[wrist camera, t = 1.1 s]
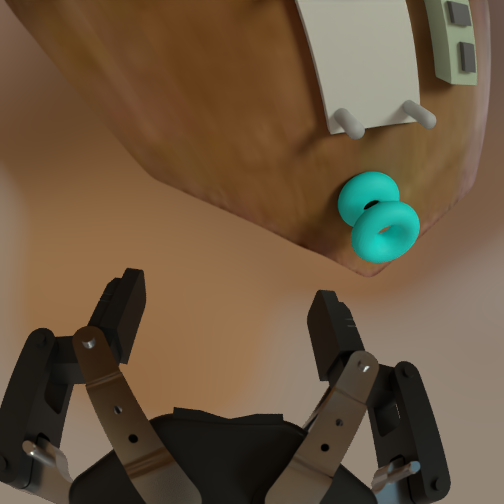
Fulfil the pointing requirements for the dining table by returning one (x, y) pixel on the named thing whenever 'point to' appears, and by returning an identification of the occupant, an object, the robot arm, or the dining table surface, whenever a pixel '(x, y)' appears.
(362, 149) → the dining table surface
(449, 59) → the pale green block
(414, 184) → the dining table surface
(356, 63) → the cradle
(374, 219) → the donuts
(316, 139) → the dining table surface
